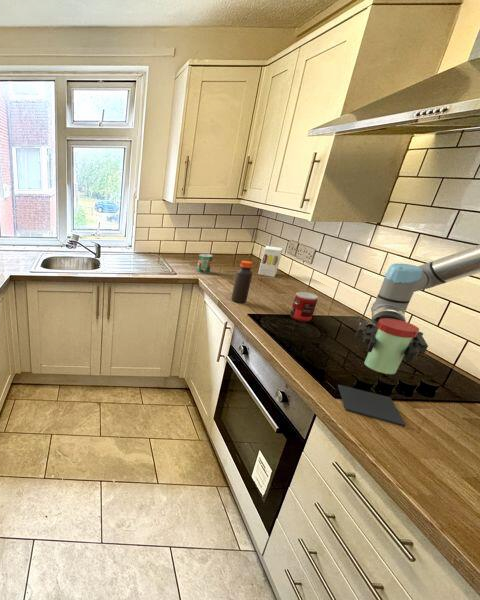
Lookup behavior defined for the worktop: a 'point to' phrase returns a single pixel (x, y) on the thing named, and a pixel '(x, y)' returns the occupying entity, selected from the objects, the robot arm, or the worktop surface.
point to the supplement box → (270, 261)
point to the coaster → (370, 405)
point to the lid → (397, 327)
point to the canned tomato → (204, 263)
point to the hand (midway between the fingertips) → (390, 352)
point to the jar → (387, 352)
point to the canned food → (303, 306)
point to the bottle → (242, 282)
